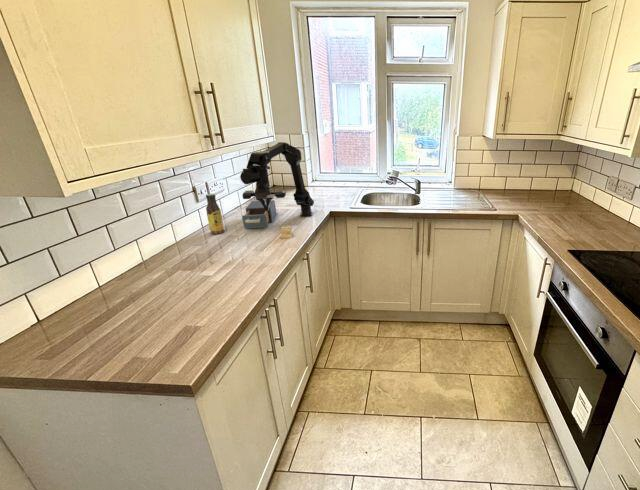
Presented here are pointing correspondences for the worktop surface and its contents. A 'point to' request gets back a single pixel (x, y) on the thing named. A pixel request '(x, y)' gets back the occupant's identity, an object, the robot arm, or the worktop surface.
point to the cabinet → (259, 205)
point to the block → (286, 232)
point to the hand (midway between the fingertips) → (267, 211)
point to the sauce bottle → (214, 215)
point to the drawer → (256, 218)
